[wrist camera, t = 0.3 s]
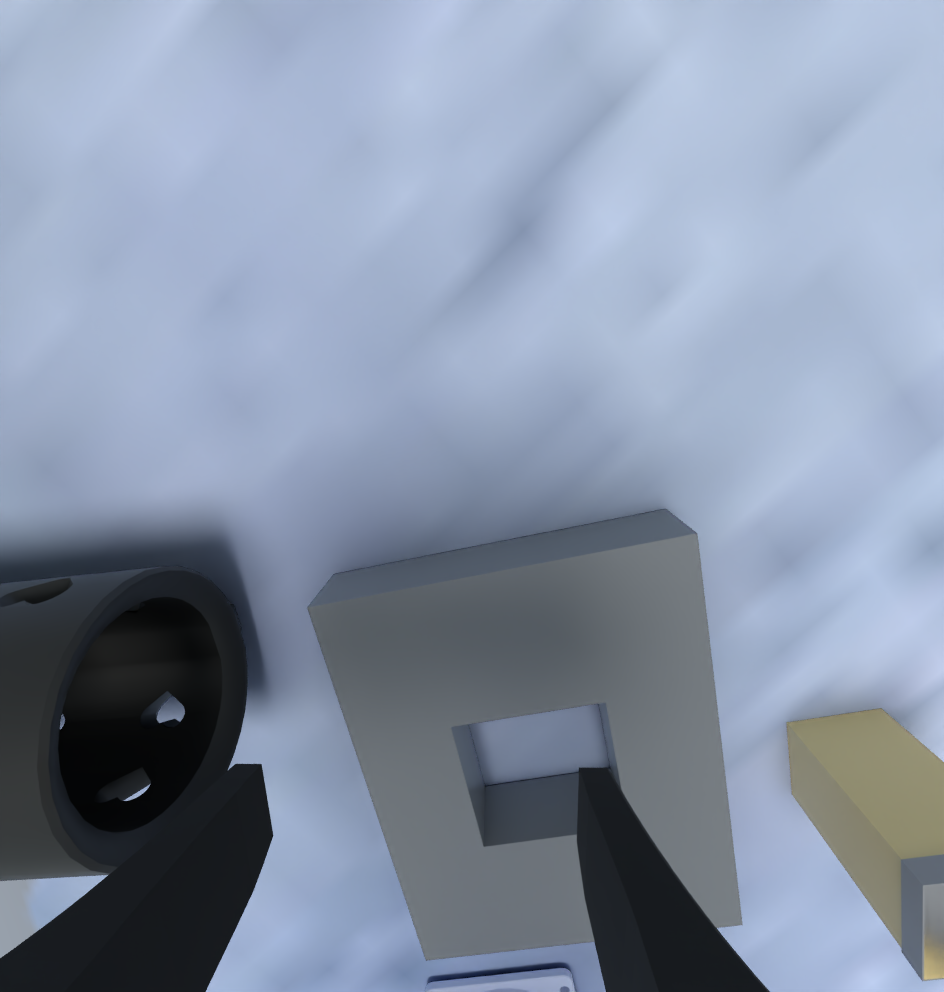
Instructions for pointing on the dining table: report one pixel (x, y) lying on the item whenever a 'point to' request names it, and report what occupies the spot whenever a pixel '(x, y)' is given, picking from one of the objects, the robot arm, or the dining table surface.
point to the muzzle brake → (110, 713)
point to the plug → (879, 820)
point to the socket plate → (523, 691)
